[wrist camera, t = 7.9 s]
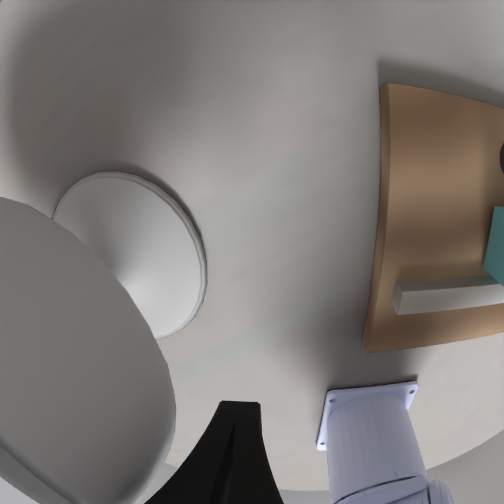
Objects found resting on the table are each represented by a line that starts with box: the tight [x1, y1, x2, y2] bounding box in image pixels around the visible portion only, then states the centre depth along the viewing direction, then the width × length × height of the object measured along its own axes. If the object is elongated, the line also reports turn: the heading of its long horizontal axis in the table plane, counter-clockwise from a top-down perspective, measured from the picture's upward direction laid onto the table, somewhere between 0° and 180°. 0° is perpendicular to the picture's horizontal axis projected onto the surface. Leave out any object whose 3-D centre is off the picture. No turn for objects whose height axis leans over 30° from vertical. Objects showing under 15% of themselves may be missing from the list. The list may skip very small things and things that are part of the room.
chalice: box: [0, 171, 207, 504], centre depth 12 cm, size 14×14×15 cm
